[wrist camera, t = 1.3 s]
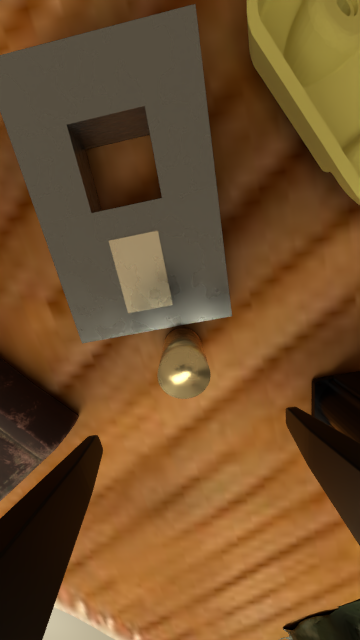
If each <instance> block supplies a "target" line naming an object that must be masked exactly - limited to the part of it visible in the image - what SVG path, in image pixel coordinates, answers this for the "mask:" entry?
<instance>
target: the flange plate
mask: <svg viewBox="0 0 360 640" xmlns="http://www.w3.org/2000/svg"><path fill="white" fill-rule="evenodd" d="M0 112H1V115H2V117H3V120H4V123H5V126H6V129H7V132H8V134H9V137H10V140H11V143H12V146H13V149H14V151H15V154H16V157H17V160H18V163H19V166H20V168H21V171H22V174H23V177H24V180H25V183H26V185H27V188H28V191H29V194H30V197H31V200H32V202H33V205H34V208H35V211H36V214H37V217H38V219H39V222H40V225H41V228H42V231H43V234H44V236H45V239H46V242H47V245H48V248H49V251H50V253H51V256H52V259H53V262H54V265H55V268H56V270H57V273H58V276H59V279H60V282H61V285H62V287H63V290H64V293H65V296H66V299H67V302H68V304H69V307H70V310H71V313H72V316H73V319H74V321H75V324H76V327H77V330H78V333H79V336H80V338H81V341H82V343H86V342H92V341H97V340H103V339H108V338H114V337H119V336H125V335H130V334H136V333H141V332H147V331H152V330H158V329H163V328H169V327H174V326H180V325H185V324H191V323H196V322H202V321H207V320H213V319H218V318H224V317H229V316H232V312H231V304H230V295H229V287H228V278H227V270H226V261H225V253H224V244H223V236H222V227H221V219H220V210H219V202H218V193H217V185H216V176H215V168H214V159H213V150H212V142H211V133H210V125H209V116H208V108H207V99H206V91H205V82H204V74H203V65H202V57H201V48H200V40H199V31H198V23H197V14H196V6H195V4H193V5H189V6H186V7H182V8H178V9H174V10H170V11H167V12H163V13H159V14H155V15H151V16H148V17H144V18H140V19H136V20H132V21H129V22H125V23H121V24H117V25H113V26H110V27H106V28H102V29H98V30H94V31H91V32H87V33H83V34H79V35H75V36H72V37H68V38H64V39H60V40H56V41H53V42H49V43H45V44H41V45H37V46H34V47H30V48H26V49H22V50H18V51H15V52H11V53H7V54H3V55H0ZM145 135H150V136H151V142H152V147H153V152H154V158H155V163H156V168H157V174H158V179H159V184H160V190H161V195H162V198H160V199H155V200H150V201H146V202H141V203H136V204H132V205H127V206H123V207H118V208H113V209H109V210H104V211H102V210H101V206H100V203H99V199H98V195H97V192H96V188H95V184H94V180H93V177H92V173H91V169H90V165H89V162H88V158H87V154H86V151H85V149H89V148H94V147H98V146H102V145H107V144H111V143H115V142H120V141H124V140H128V139H132V138H137V137H141V136H145Z"/></svg>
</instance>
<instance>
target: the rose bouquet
mask: <svg viewBox="0 0 360 640" xmlns="http://www.w3.org/2000/svg"><path fill="white" fill-rule="evenodd" d="M338 607H339V610H335V611H334V612H333V613H331V614H330V615H325V616H316V617H312V618H309V619H306V620H303V621H301V622H300V623H299V624H298V625H297V627H296V628H295V629H294V630H286V629H283V630H285V631H286V632H288V634H290V637H286V639H289V640H360V600H358V601H355V602H352V603H349V604H346V605H343V606H338ZM281 639H284V638H281ZM279 640H280V639H279Z"/></svg>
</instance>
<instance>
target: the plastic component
mask: <svg viewBox="0 0 360 640" xmlns="http://www.w3.org/2000/svg"><path fill="white" fill-rule="evenodd" d="M247 23H248V38H249V51H250V57H251V60H252V63H253V65H254V67H255V69H256V70H257V72H258V73H259V75H260V76H261V78H262V79H263V81H264V82H265V84H266V85H267V87H268V89H269V90H270V92H271V93H272V95H273V96H274V98H275V99H276V101H277V102H278V104H279V105H280V107H281V108H282V110H283V111H284V113H285V114H286V116H287V117H288V119H289V121H290V122H291V124H292V125H293V127H294V128H295V130H296V131H297V133H298V134H299V136H300V137H301V139H302V140H303V142H304V143H305V145H306V146H307V148H308V149H309V151H310V153H311V154H312V156H313V157H314V159H315V160H316V162H317V163H318V165H319V166H320V168H321V169H322V170H323V171H324V172H331V173H332V174H333V176H334V177H335V179H336V180H337V182H338V183H339V185H340V186H341V187H342V189H343V190H344V191H345V192H346V193H347V194H348V196H349V197H350V198H351V199H353V200H354V201H355V202H356V203H357V204H358V205H360V0H247Z"/></svg>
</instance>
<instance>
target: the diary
mask: <svg viewBox="0 0 360 640" xmlns="http://www.w3.org/2000/svg"><path fill="white" fill-rule="evenodd" d="M78 417H79V416H78V415H77V414H75V413H74V412H73V411H71V410H70V409H68V408H67V407H66V406H64V405H63V404H61V403H60V402H58V401H57V400H56V399H54V398H53V397H51V396H50V395H48V394H47V393H46V392H44V391H43V390H41V389H40V388H38V387H37V386H36V385H34V384H33V383H31V382H30V381H29V380H27V379H26V378H25V377H24V376H22V375H21V374H20V373H19V372H17V371H16V370H15V369H14V368H12V367H11V366H10V365H9V364H7V363H6V362H5V361H3V360H2V359H1V358H0V501H1V500H2V499H3V498H4V497H5V496H6V495H7V494H9V493H10V492H11V491H12V490H13V489H14V488H15V487H16V486H17V485H18V484H19V483H20V482H21V481H22V480H23V479H24V478H25V477H27V476H28V475H29V474H30V473H31V472H32V471H33V470H34V469H35V468H36V467H37V466H38V465H39V464H40V463H41V462H42V461H43V460H44V459H46V458H47V457H48V456H49V455H50V454H51V453H52V452H53V451H54V450H55V449H56V448H57V447H58V446H59V444H60V443H61V442H62V441H63V439H64V438H65V437H66V436H67V434H68V433H69V432H70V430H71V429H72V427H73V426H74V425H75V423H76V421H77V419H78Z"/></svg>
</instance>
